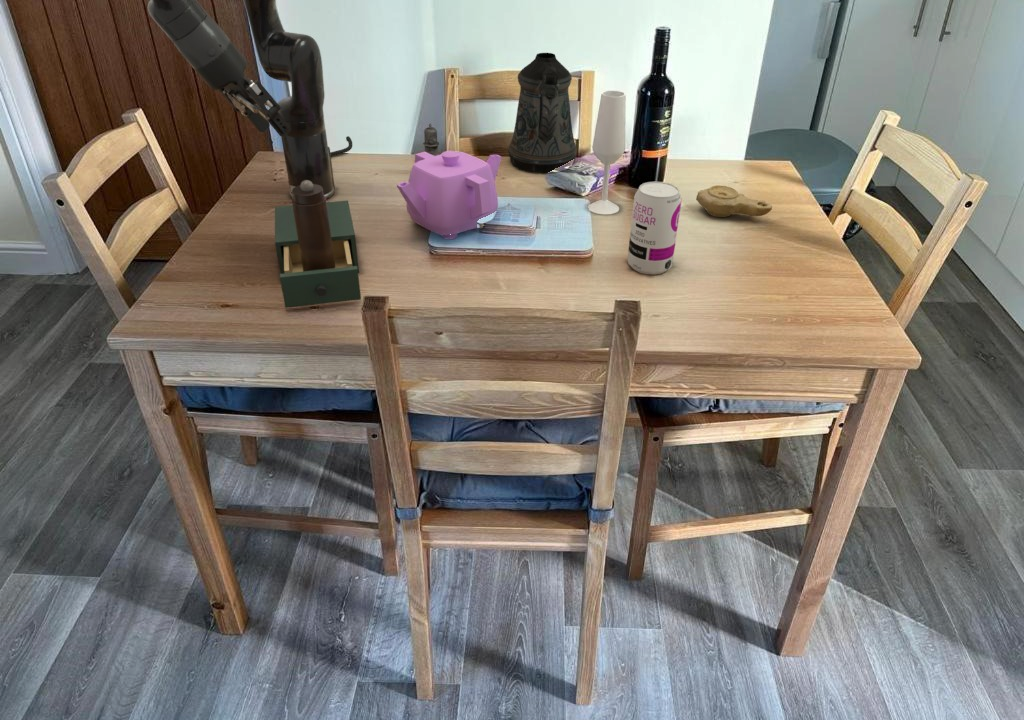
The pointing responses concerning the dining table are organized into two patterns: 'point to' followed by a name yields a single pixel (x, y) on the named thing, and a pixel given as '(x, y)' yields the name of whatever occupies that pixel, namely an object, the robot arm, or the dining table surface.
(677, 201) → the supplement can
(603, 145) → the champagne flute
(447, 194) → the teapot
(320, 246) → the pepper mill
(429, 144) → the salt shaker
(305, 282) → the drawer
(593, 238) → the dining table surface
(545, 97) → the dark engraved coffee pot
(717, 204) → the oil lamp
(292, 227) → the cabinet
